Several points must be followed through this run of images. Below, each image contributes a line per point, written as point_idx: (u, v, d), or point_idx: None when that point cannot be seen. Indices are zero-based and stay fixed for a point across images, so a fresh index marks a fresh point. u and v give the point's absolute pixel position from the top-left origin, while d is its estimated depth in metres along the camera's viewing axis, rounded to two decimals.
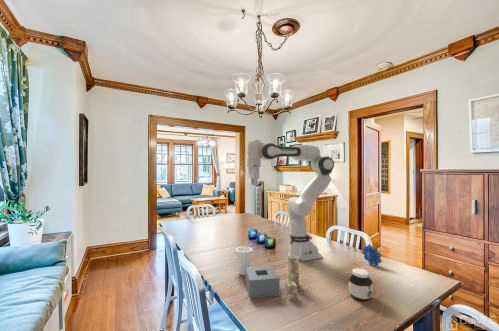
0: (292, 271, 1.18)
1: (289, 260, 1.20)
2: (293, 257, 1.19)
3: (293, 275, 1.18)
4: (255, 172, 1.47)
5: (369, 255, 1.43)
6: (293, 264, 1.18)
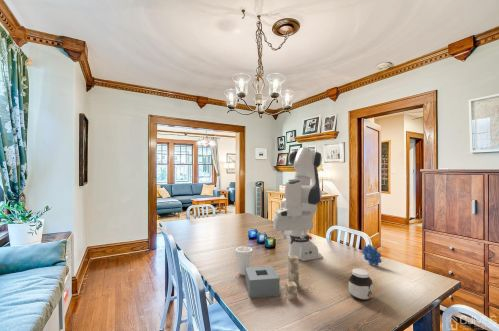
0: (292, 271, 1.18)
1: (289, 260, 1.20)
2: (293, 257, 1.19)
3: (293, 275, 1.18)
4: None
5: (369, 255, 1.43)
6: (293, 264, 1.18)
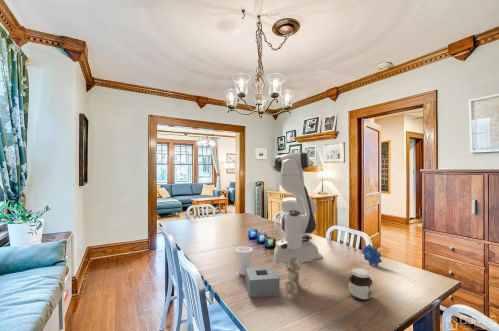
0: (292, 271, 1.18)
1: None
2: None
3: (293, 275, 1.18)
4: None
5: (369, 255, 1.43)
6: (293, 264, 1.18)
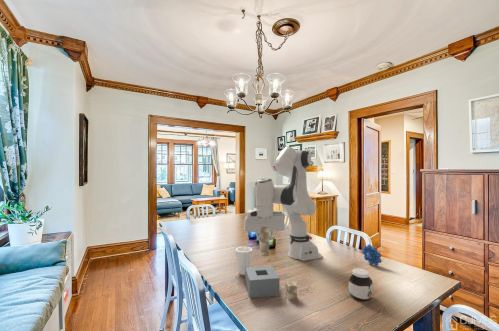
0: (262, 240, 1.14)
1: None
2: None
3: (263, 244, 1.14)
4: None
5: (369, 255, 1.43)
6: (264, 233, 1.14)
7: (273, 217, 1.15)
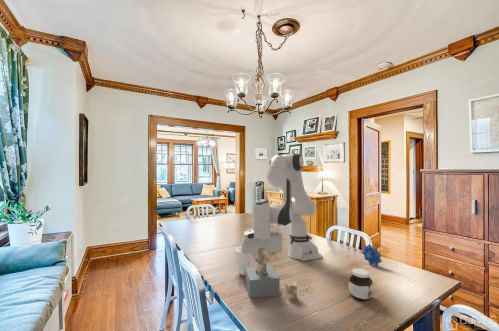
0: (259, 262, 1.13)
1: None
2: None
3: (260, 266, 1.13)
4: None
5: (369, 255, 1.43)
6: (261, 255, 1.14)
7: (270, 238, 1.15)
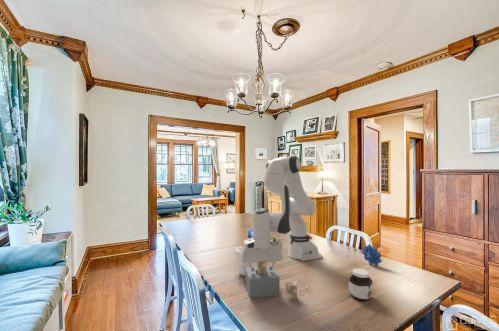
0: None
1: (258, 264, 1.15)
2: None
3: None
4: None
5: (369, 255, 1.43)
6: (261, 268, 1.14)
7: (270, 248, 1.15)
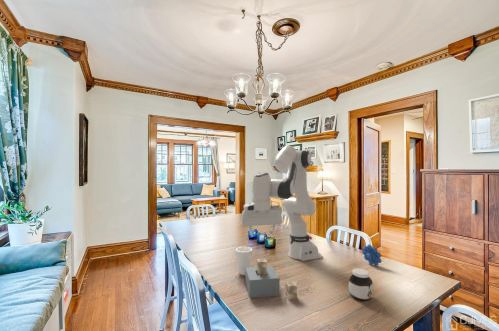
0: None
1: (257, 264, 1.15)
2: (261, 261, 1.15)
3: None
4: None
5: (369, 255, 1.43)
6: (261, 268, 1.14)
7: (270, 211, 1.15)
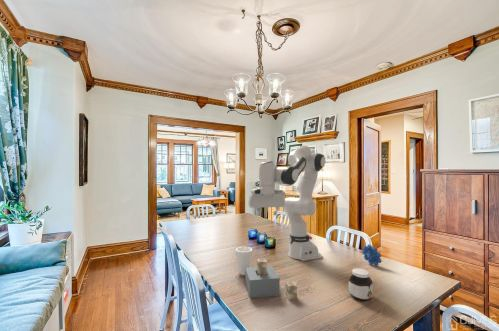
0: None
1: (257, 264, 1.15)
2: (261, 261, 1.15)
3: None
4: None
5: (369, 255, 1.43)
6: (261, 268, 1.14)
7: (275, 195, 1.30)
